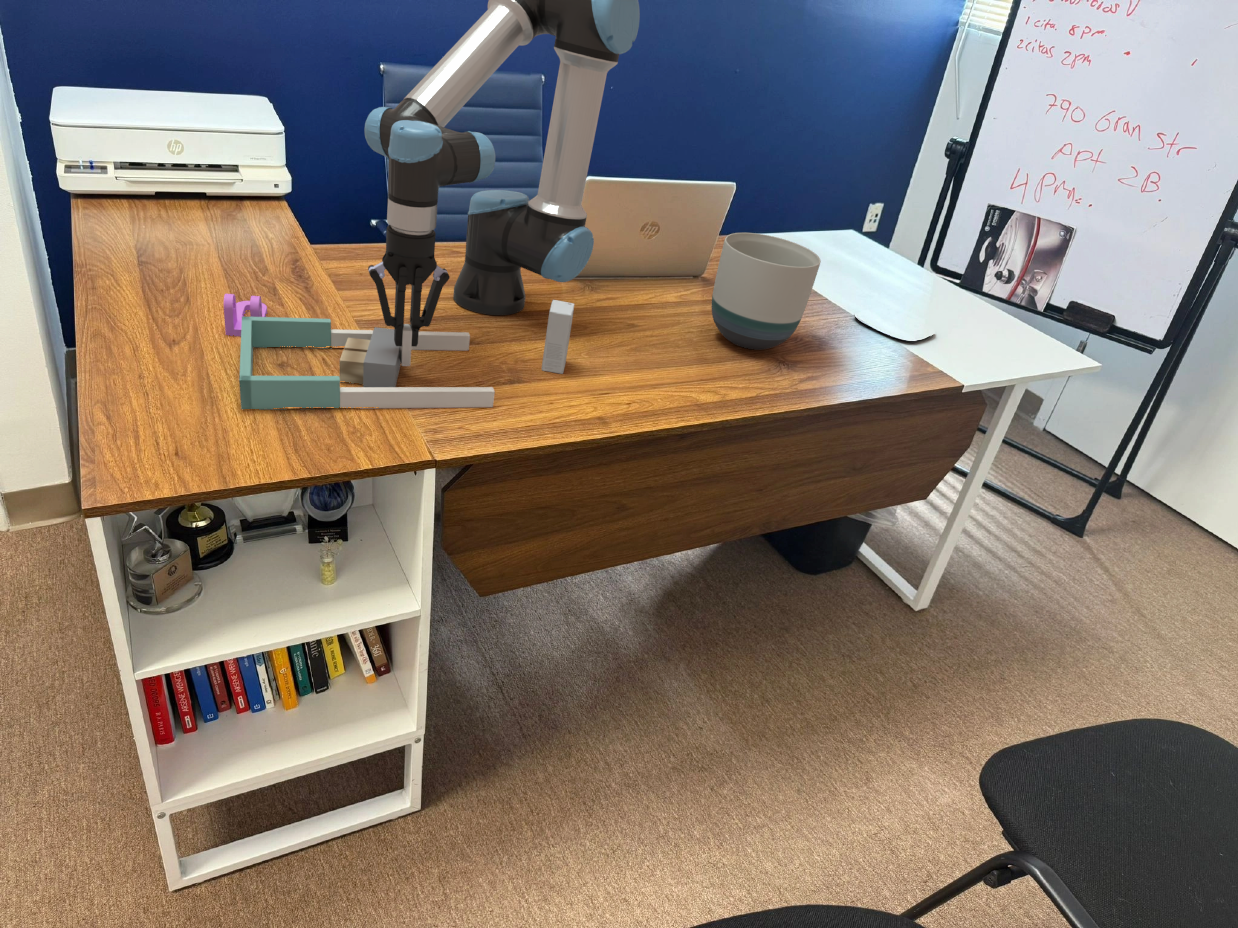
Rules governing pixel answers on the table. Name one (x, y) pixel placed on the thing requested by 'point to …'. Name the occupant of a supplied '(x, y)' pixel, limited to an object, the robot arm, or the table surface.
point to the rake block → (381, 360)
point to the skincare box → (557, 336)
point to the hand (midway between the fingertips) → (404, 362)
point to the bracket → (240, 312)
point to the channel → (415, 395)
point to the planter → (761, 289)
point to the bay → (285, 388)
